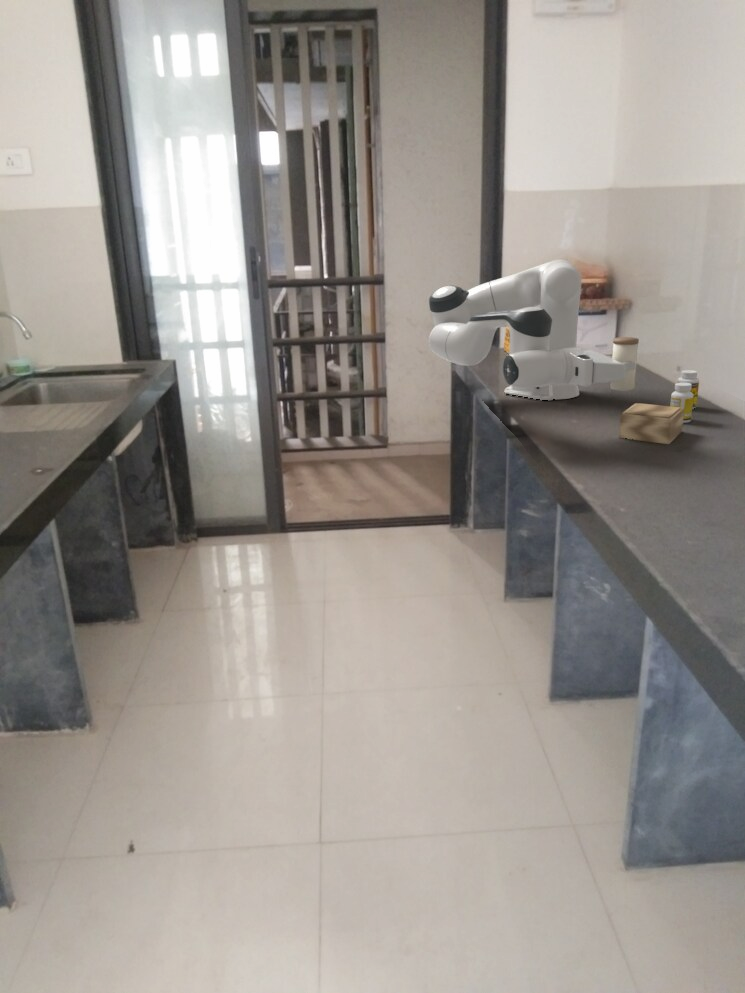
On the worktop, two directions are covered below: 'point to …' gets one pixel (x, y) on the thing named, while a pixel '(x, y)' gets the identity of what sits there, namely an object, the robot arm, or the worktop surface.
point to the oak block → (651, 423)
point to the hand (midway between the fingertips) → (627, 362)
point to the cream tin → (625, 360)
